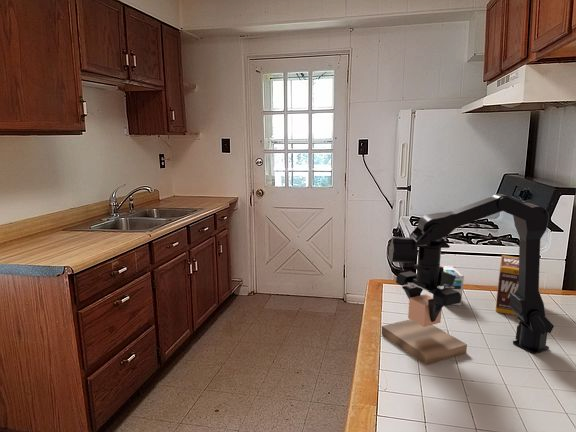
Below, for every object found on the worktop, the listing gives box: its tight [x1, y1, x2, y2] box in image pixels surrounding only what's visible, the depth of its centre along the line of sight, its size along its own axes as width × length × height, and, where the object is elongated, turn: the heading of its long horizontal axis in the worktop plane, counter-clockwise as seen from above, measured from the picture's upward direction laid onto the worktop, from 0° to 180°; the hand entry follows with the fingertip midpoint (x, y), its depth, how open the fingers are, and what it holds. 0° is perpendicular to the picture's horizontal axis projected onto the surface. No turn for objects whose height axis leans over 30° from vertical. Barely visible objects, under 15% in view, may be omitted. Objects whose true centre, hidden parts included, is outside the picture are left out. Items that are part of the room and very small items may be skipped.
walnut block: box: [381, 318, 468, 366], centre depth 115 cm, size 18×14×3 cm
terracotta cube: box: [407, 293, 443, 327], centre depth 113 cm, size 6×6×6 cm
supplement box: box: [495, 255, 519, 316], centre depth 139 cm, size 10×15×16 cm
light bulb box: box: [438, 265, 465, 306], centre depth 145 cm, size 11×7×11 cm, turn 179°
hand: (424, 316), depth 114 cm, fingers closed on terracotta cube, 6 cm apart
